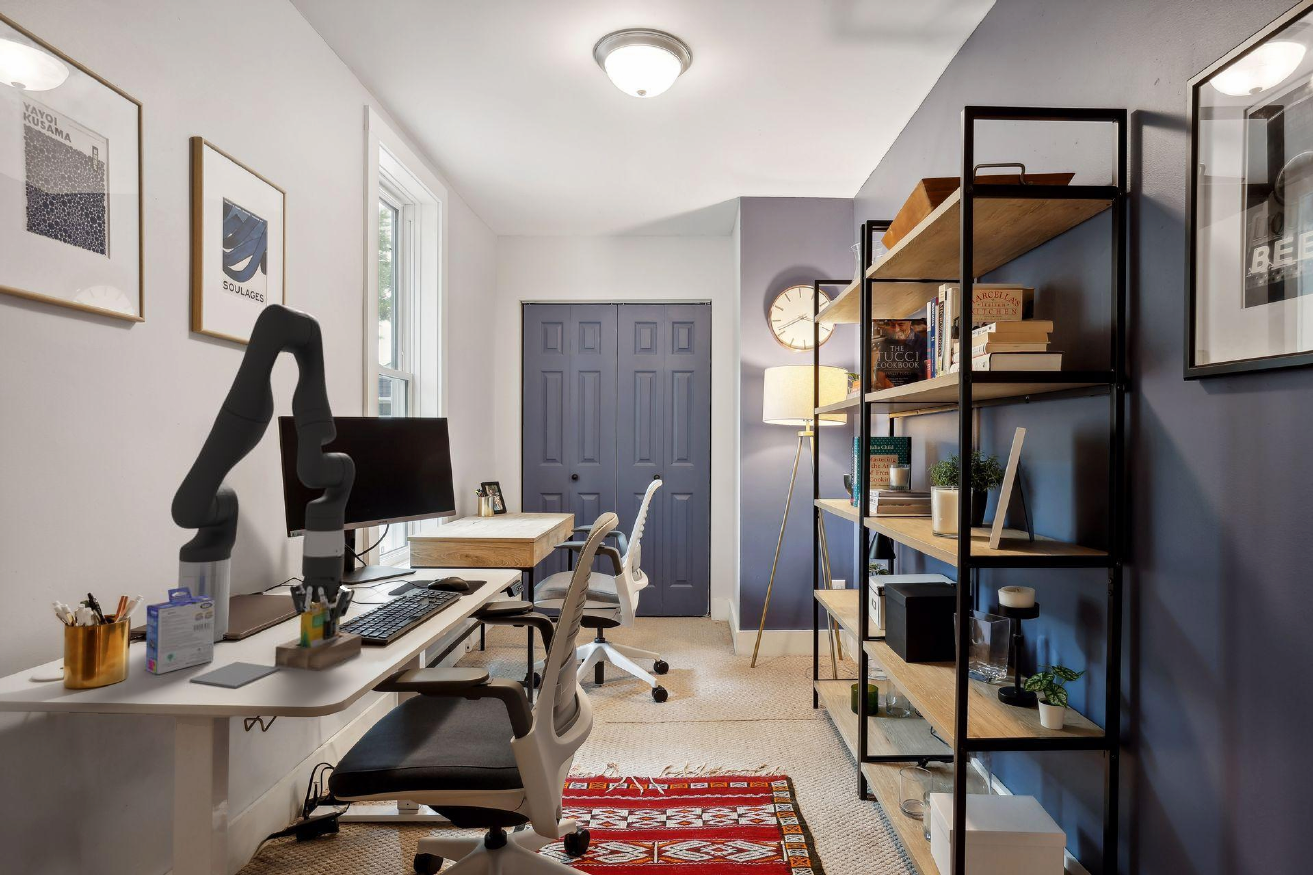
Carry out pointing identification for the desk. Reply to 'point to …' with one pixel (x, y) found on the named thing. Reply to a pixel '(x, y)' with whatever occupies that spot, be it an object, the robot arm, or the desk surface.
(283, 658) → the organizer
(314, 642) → the crayon box
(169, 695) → the desk surface
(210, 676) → the mat
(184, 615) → the ink cartridge box
